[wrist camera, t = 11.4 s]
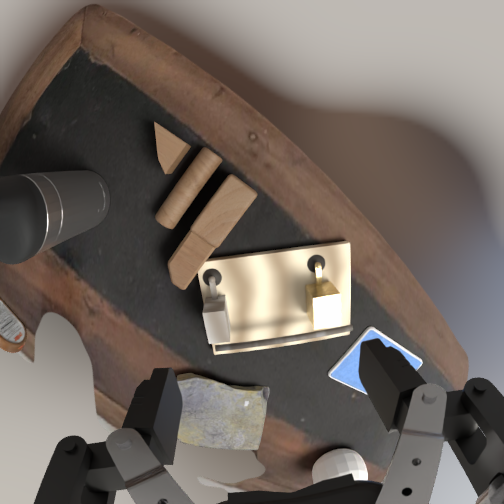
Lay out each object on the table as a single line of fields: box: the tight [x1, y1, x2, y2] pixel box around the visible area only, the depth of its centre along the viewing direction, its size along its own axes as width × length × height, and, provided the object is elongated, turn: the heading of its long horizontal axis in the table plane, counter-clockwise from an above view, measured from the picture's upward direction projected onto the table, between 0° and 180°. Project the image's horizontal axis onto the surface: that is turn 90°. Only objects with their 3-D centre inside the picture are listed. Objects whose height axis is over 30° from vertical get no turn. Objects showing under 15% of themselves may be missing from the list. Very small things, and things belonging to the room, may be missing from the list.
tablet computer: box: [328, 326, 422, 395], centre depth 52 cm, size 19×13×1 cm, turn 55°
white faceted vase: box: [312, 448, 368, 484], centre depth 53 cm, size 13×13×14 cm
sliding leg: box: [305, 262, 341, 330], centre depth 42 cm, size 4×8×5 cm, turn 7°
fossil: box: [177, 373, 269, 450], centre depth 51 cm, size 20×5×17 cm
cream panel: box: [198, 241, 353, 355], centre depth 44 cm, size 23×16×7 cm
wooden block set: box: [154, 122, 257, 290], centre depth 40 cm, size 17×6×18 cm
